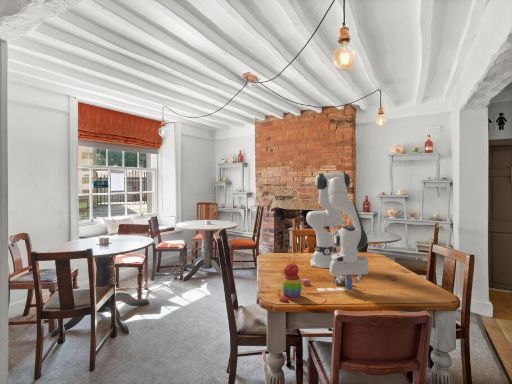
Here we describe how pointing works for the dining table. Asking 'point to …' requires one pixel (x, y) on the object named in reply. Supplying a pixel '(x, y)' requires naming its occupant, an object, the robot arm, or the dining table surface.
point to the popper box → (337, 281)
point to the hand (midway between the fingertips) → (348, 282)
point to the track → (330, 289)
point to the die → (305, 282)
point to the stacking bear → (291, 283)
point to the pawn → (348, 282)
